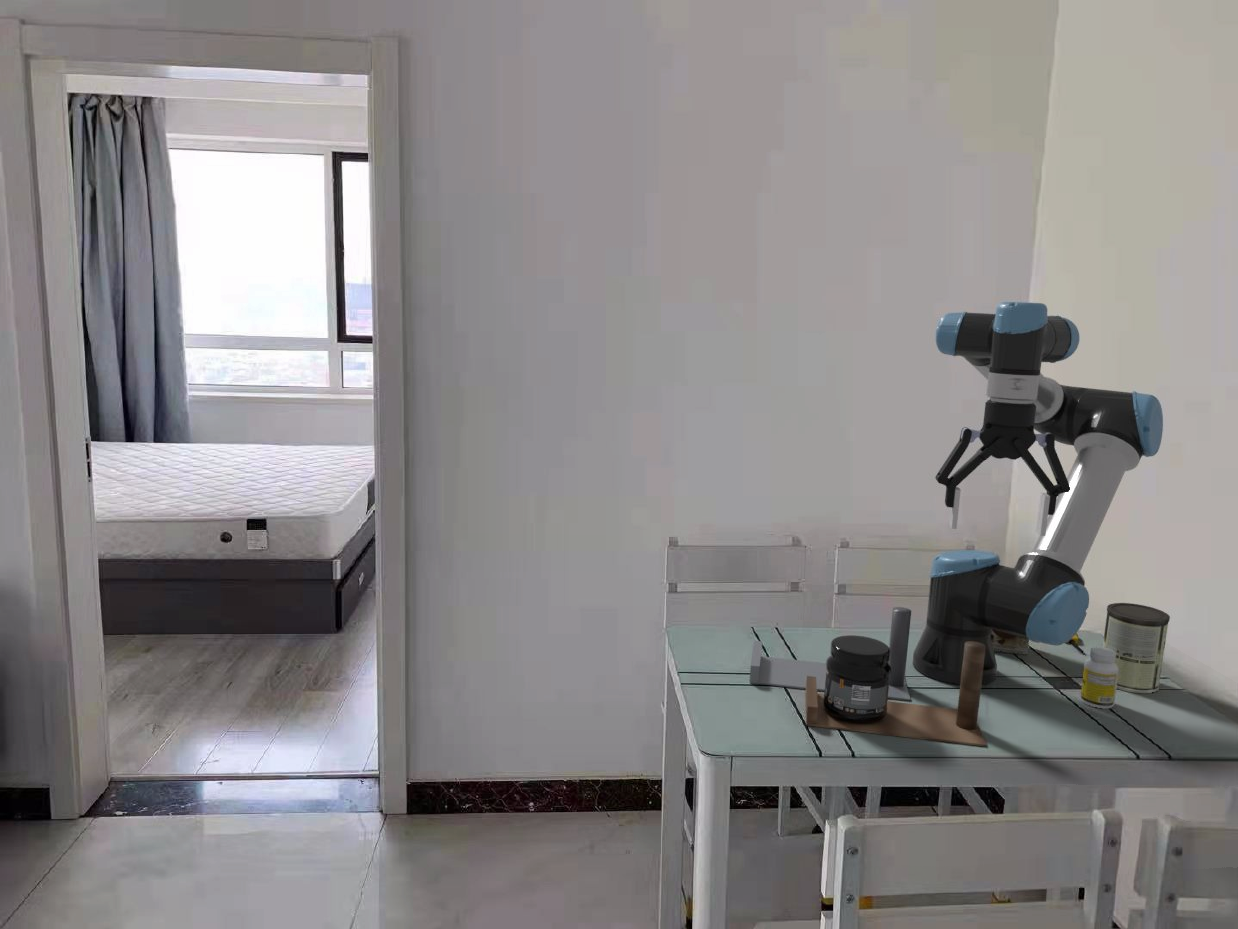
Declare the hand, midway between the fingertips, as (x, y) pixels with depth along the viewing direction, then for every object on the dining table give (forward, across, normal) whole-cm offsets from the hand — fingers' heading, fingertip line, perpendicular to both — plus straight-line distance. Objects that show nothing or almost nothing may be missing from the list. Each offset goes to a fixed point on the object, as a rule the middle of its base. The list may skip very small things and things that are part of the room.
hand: (996, 530), depth 153 cm
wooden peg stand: (+33, -14, -4) cm, 36 cm away
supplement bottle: (+33, +23, +13) cm, 42 cm away
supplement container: (+32, -20, -4) cm, 38 cm away
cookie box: (+33, +12, +38) cm, 52 cm away
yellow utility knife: (+33, +27, +46) cm, 63 cm away
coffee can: (+33, +32, +25) cm, 52 cm away
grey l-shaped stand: (+33, -24, +11) cm, 42 cm away
